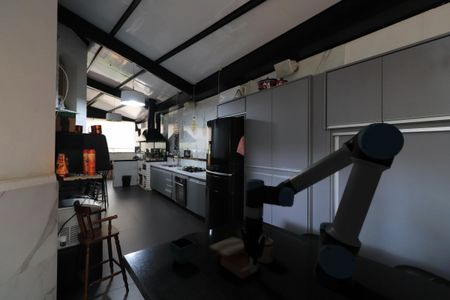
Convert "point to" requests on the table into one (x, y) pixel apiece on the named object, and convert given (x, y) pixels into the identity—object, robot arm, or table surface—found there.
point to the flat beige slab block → (228, 248)
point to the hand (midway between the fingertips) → (252, 271)
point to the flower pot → (182, 250)
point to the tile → (238, 265)
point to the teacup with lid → (267, 252)
